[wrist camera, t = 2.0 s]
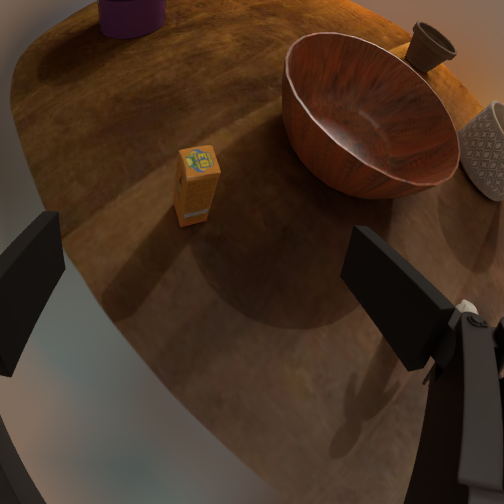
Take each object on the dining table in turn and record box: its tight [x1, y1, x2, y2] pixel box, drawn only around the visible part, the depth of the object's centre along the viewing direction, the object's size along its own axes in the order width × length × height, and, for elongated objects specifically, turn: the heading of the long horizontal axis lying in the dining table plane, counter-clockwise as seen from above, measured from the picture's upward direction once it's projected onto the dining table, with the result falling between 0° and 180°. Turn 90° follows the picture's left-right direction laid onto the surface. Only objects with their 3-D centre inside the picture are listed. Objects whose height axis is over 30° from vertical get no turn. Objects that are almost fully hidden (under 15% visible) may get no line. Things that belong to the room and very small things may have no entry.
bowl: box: [282, 32, 460, 200], centre depth 38 cm, size 25×25×11 cm
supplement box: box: [174, 145, 221, 227], centre depth 31 cm, size 3×3×10 cm
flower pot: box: [406, 21, 457, 72], centre depth 55 cm, size 12×11×10 cm
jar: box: [98, 0, 166, 39], centre depth 39 cm, size 13×13×10 cm
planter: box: [457, 101, 504, 201], centre depth 46 cm, size 16×16×13 cm
